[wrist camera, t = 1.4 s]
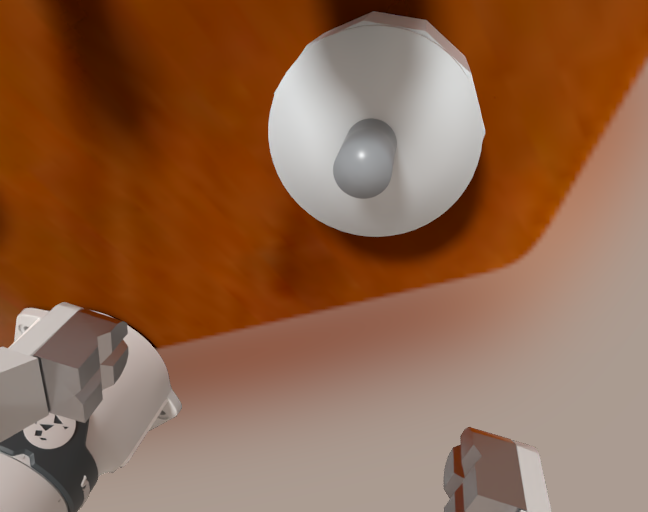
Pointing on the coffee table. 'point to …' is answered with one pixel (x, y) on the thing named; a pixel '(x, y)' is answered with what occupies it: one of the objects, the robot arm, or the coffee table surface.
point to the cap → (377, 126)
